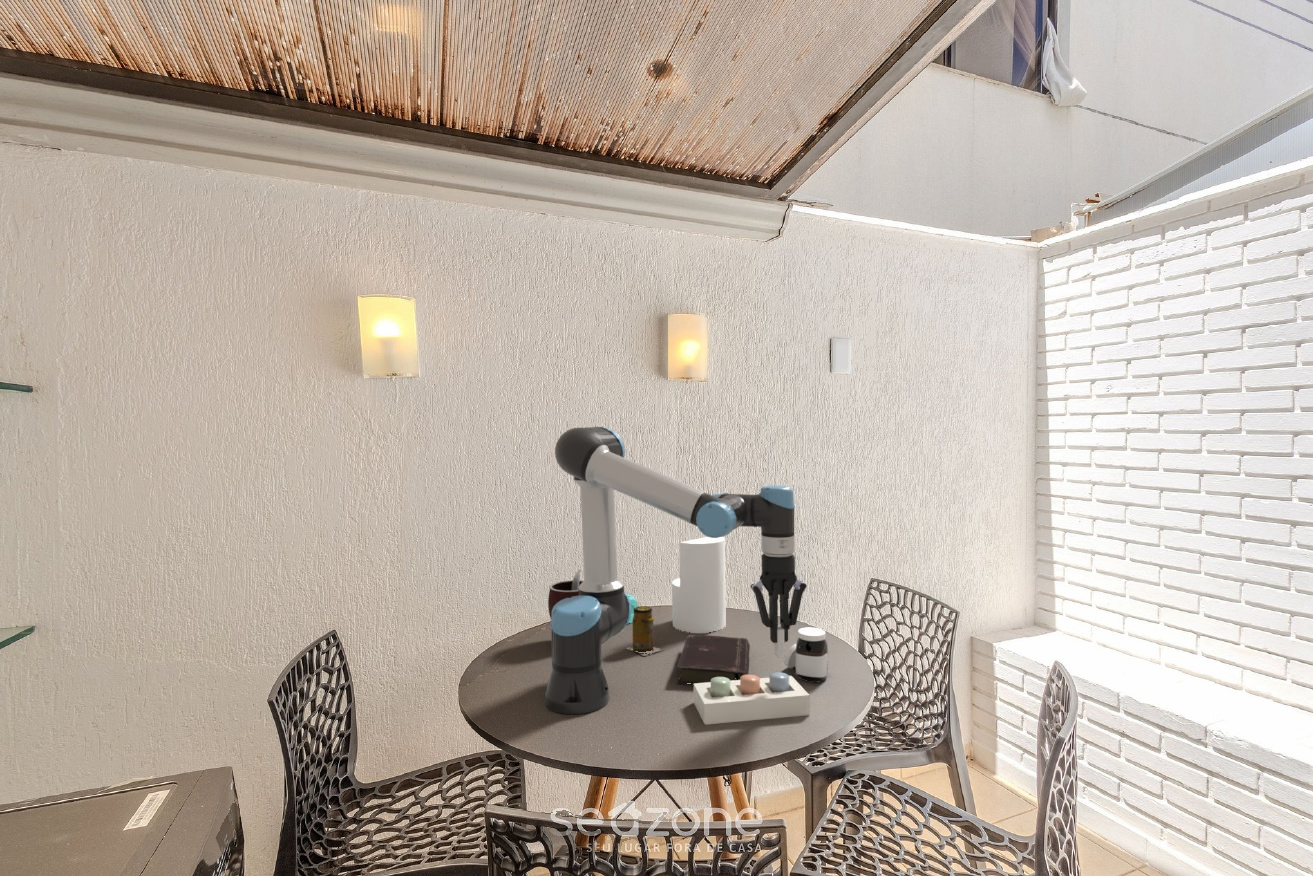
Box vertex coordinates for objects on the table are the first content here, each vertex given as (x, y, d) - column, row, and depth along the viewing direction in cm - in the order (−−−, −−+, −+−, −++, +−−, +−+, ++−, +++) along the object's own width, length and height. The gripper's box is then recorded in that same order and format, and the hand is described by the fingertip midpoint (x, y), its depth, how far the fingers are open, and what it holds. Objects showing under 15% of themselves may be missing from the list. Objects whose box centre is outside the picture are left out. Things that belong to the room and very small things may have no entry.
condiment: (645, 643, 188) (644, 603, 188) (663, 651, 182) (663, 609, 181) (625, 649, 184) (625, 608, 183) (643, 657, 177) (643, 614, 177)
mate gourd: (587, 651, 182) (586, 582, 181) (542, 649, 184) (541, 581, 184) (602, 633, 197) (601, 570, 197) (559, 631, 200) (558, 569, 199)
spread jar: (823, 686, 156) (823, 639, 156) (778, 679, 161) (778, 633, 160) (831, 669, 167) (831, 625, 166) (789, 662, 171) (788, 620, 171)
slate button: (773, 695, 143) (773, 680, 143) (767, 687, 147) (766, 673, 147) (792, 694, 143) (791, 679, 143) (785, 686, 148) (784, 671, 148)
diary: (749, 654, 180) (749, 637, 180) (748, 691, 155) (748, 671, 155) (684, 650, 183) (684, 633, 183) (673, 686, 158) (673, 666, 158)
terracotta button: (743, 698, 142) (743, 683, 141) (738, 689, 146) (737, 675, 146) (762, 696, 142) (762, 681, 142) (756, 688, 147) (756, 673, 146)
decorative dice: (638, 619, 211) (638, 596, 211) (624, 626, 204) (624, 602, 204) (619, 616, 215) (618, 593, 215) (605, 622, 208) (604, 598, 208)
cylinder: (736, 624, 205) (736, 538, 204) (700, 637, 193) (699, 546, 192) (697, 613, 217) (696, 532, 217) (661, 624, 205) (660, 539, 205)
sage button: (713, 700, 140) (713, 685, 140) (708, 692, 145) (708, 677, 145) (732, 699, 141) (732, 683, 141) (727, 690, 145) (727, 676, 145)
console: (704, 724, 137) (704, 704, 137) (693, 702, 148) (693, 683, 148) (809, 715, 141) (809, 695, 140) (791, 694, 151) (791, 675, 151)
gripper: (755, 558, 140) (757, 664, 140) (811, 555, 142) (812, 659, 142) (745, 551, 147) (747, 652, 148) (798, 549, 149) (800, 648, 150)
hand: (779, 655), depth 145 cm, fingers closed
